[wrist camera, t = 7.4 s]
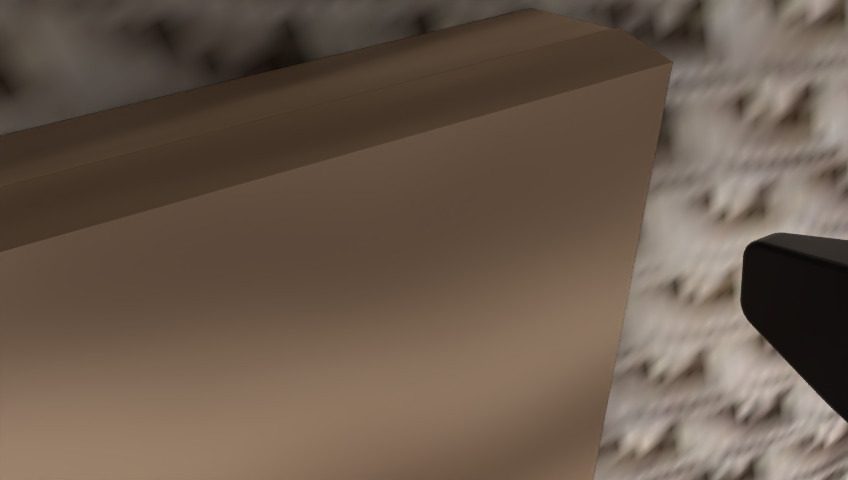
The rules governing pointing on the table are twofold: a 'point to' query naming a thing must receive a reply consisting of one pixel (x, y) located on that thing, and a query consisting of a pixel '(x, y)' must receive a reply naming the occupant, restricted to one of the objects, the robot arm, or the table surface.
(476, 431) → the ramp
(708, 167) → the table surface
